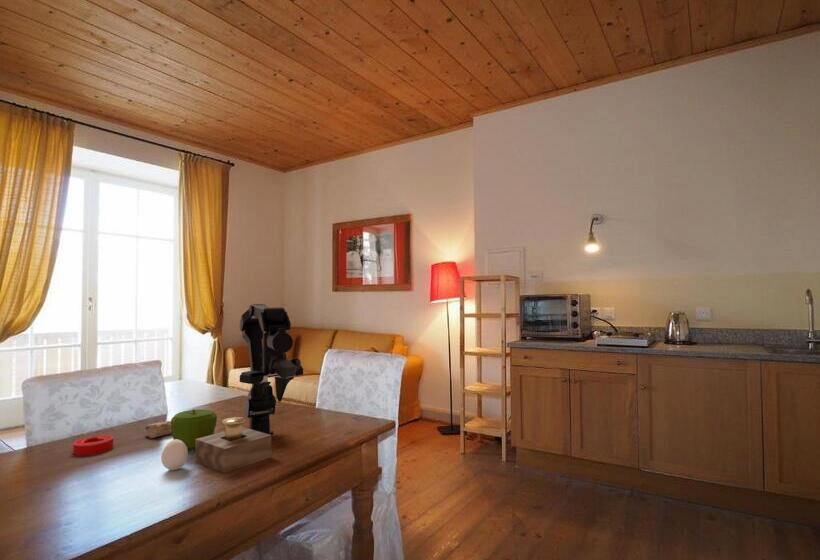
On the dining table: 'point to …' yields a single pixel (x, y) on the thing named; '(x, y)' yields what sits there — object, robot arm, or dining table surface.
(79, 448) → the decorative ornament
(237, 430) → the peg
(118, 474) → the dining table surface
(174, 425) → the apple
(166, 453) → the egg
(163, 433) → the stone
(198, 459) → the socket block
